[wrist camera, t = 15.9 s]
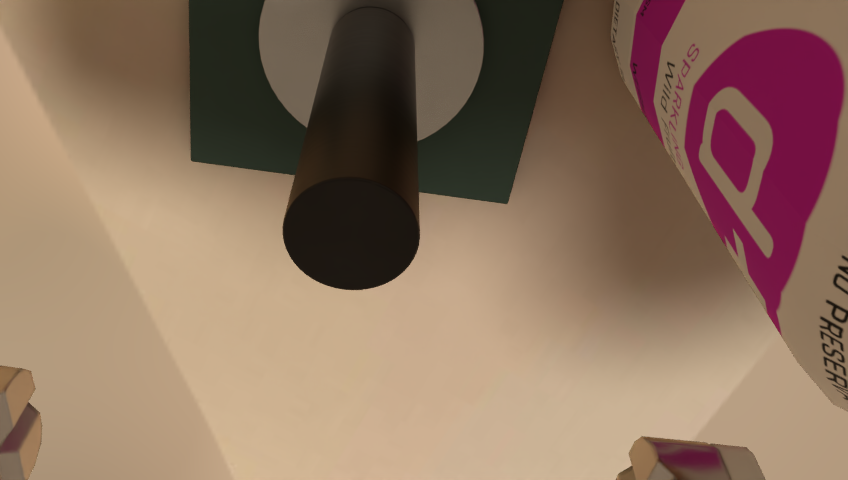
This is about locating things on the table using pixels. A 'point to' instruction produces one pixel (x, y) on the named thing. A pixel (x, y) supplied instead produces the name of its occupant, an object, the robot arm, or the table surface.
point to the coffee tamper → (365, 122)
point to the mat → (437, 154)
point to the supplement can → (759, 147)
